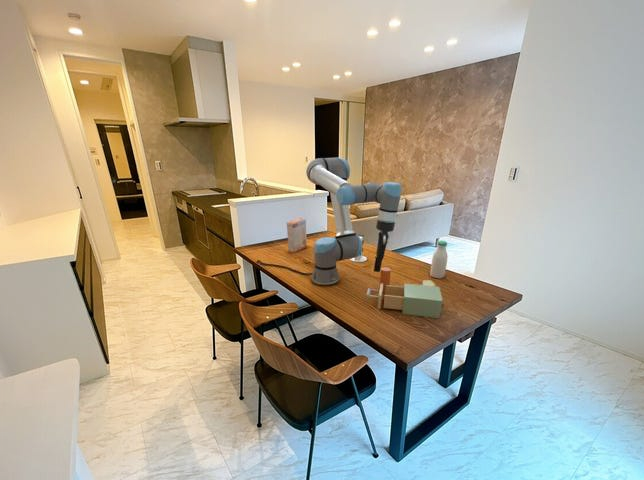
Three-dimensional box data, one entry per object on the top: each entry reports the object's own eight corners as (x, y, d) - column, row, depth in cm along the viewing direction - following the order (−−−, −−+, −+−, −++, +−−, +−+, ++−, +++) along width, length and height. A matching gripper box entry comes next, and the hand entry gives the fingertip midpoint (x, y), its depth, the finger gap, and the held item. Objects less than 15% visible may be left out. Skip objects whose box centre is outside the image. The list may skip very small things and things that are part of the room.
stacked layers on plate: (415, 288, 153) (416, 278, 151) (432, 288, 153) (434, 279, 151) (420, 297, 144) (421, 287, 142) (438, 298, 144) (440, 288, 142)
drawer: (364, 307, 135) (365, 293, 132) (367, 294, 146) (368, 282, 143) (410, 312, 131) (412, 299, 128) (410, 299, 141) (412, 286, 139)
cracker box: (300, 246, 216) (299, 217, 208) (307, 247, 213) (306, 218, 204) (287, 251, 206) (286, 221, 197) (294, 253, 203) (293, 223, 194)
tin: (378, 292, 150) (380, 270, 145) (379, 288, 154) (381, 266, 149) (388, 293, 149) (390, 271, 144) (388, 289, 153) (391, 267, 148)
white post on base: (364, 263, 185) (366, 240, 179) (347, 261, 188) (347, 238, 182) (368, 256, 195) (369, 234, 189) (351, 254, 199) (352, 233, 192)
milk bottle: (445, 279, 163) (451, 244, 155) (430, 278, 165) (436, 243, 156) (443, 273, 170) (449, 240, 161) (428, 272, 171) (434, 239, 163)
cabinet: (402, 313, 131) (404, 296, 128) (402, 299, 143) (404, 283, 140) (439, 318, 128) (442, 301, 124) (436, 302, 140) (439, 286, 136)
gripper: (397, 225, 120) (386, 278, 130) (393, 218, 131) (383, 266, 141) (378, 223, 120) (369, 275, 130) (376, 216, 132) (368, 264, 142)
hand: (376, 270), depth 136 cm, fingers closed
